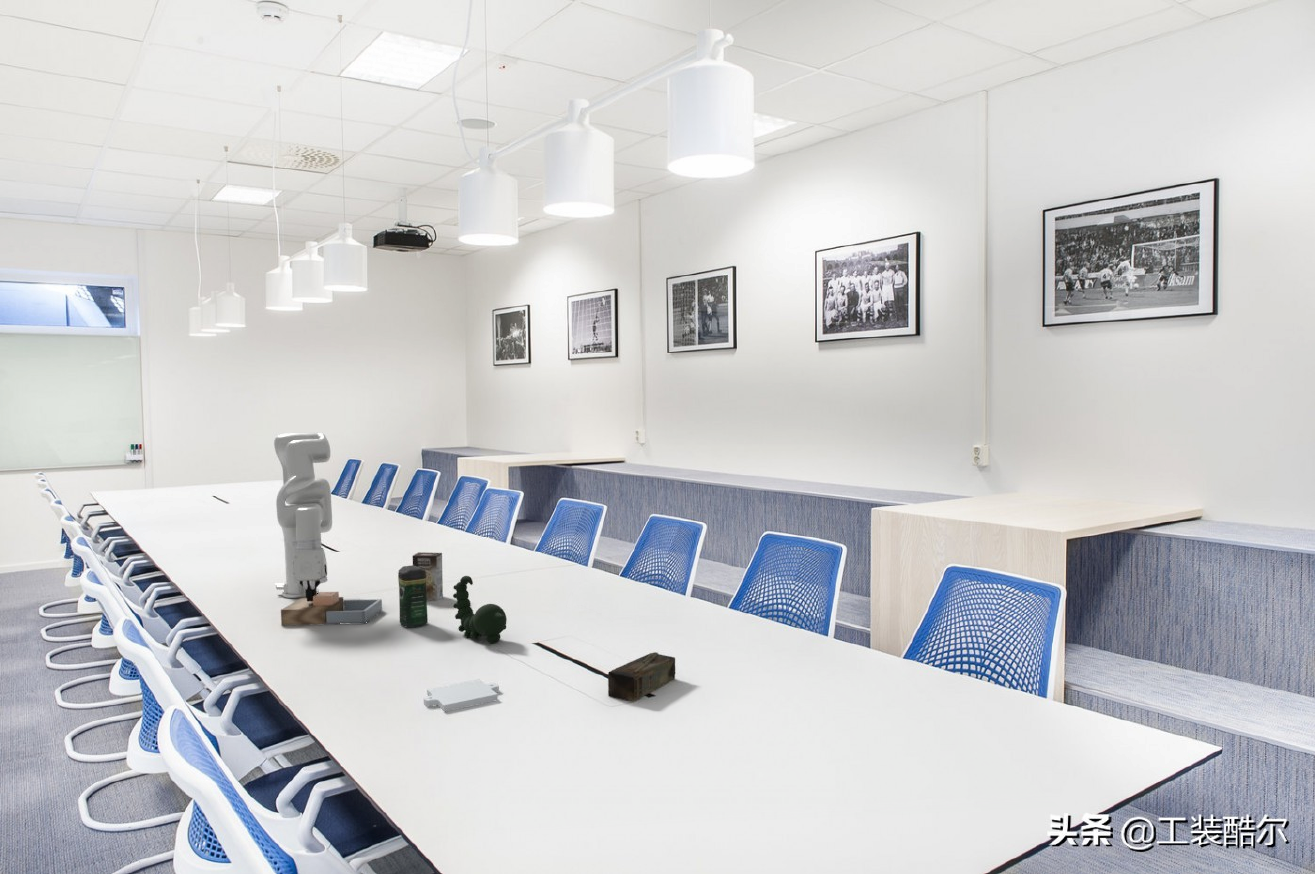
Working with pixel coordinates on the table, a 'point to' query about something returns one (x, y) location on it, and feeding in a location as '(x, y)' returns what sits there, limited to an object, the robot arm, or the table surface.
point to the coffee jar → (412, 596)
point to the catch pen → (355, 611)
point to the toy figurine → (478, 615)
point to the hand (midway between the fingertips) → (311, 600)
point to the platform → (308, 612)
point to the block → (325, 598)
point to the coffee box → (431, 573)
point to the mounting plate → (461, 694)
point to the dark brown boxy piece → (641, 676)
